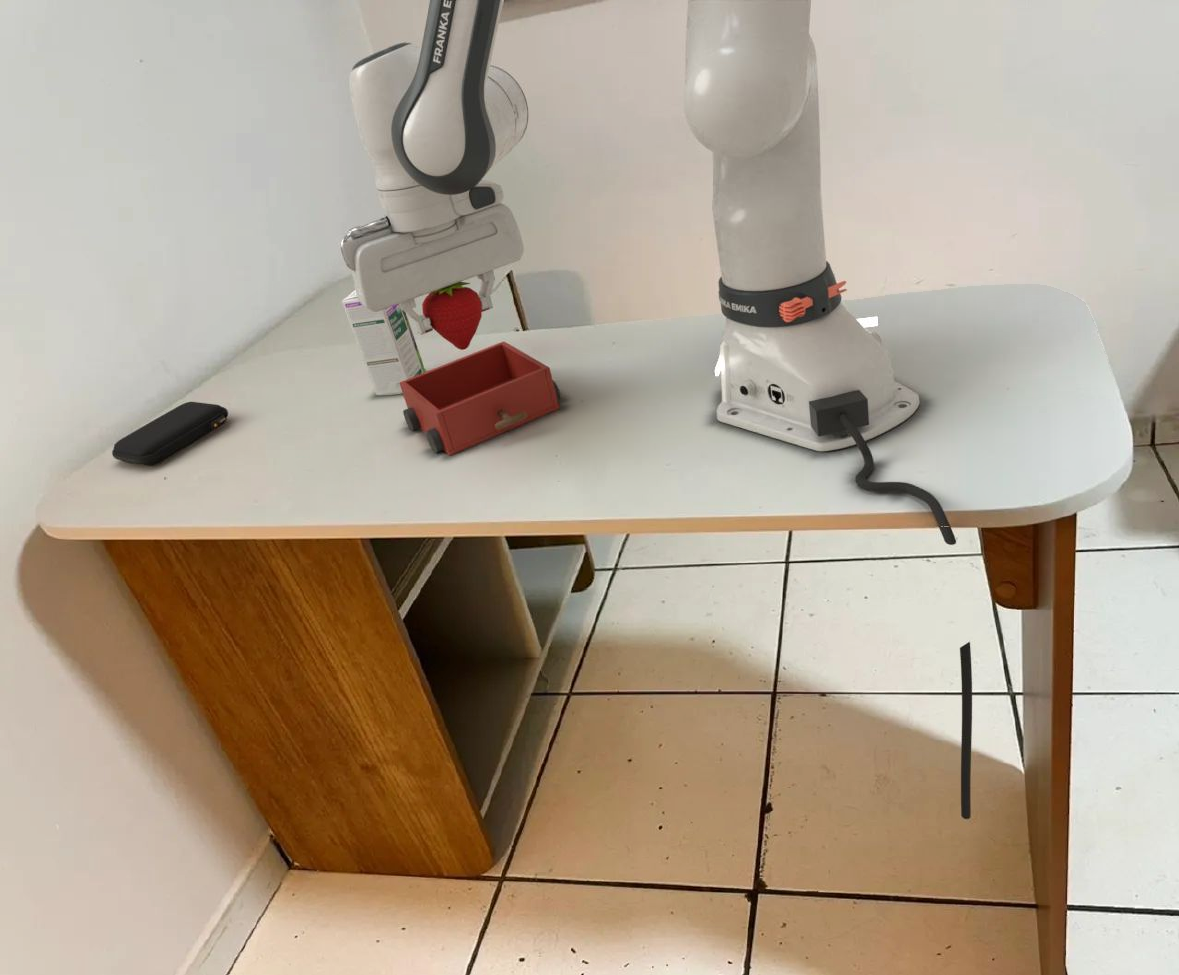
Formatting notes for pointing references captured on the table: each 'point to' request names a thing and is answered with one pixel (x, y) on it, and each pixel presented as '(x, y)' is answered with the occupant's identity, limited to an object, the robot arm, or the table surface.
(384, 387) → the syrup box
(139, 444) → the carrying case
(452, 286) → the strawberry
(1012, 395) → the table surface
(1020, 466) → the table surface
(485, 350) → the toy wagon
